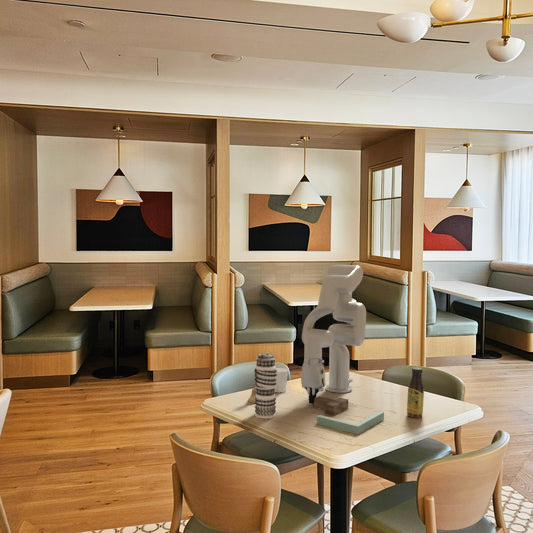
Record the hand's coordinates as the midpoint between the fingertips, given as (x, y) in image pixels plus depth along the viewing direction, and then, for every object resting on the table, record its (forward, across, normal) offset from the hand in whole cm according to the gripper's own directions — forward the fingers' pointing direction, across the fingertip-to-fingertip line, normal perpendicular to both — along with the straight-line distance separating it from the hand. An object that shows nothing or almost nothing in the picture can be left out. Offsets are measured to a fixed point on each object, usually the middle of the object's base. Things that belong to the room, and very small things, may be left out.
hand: (312, 402), depth 227 cm
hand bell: (+1, +23, +10) cm, 25 cm away
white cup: (+1, +25, -9) cm, 27 cm away
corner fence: (+1, -23, +7) cm, 24 cm away
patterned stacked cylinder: (+1, +8, +23) cm, 24 cm away
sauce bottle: (+1, -40, -16) cm, 43 cm away
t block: (+1, -8, 0) cm, 8 cm away
